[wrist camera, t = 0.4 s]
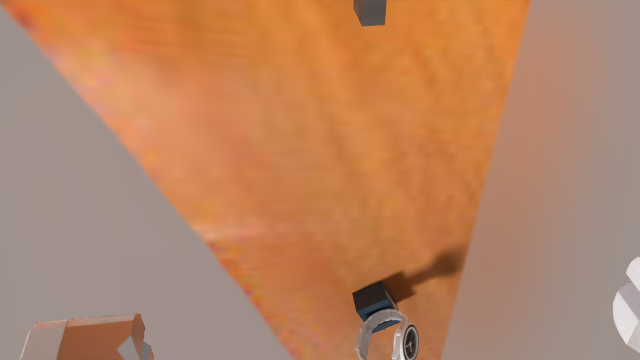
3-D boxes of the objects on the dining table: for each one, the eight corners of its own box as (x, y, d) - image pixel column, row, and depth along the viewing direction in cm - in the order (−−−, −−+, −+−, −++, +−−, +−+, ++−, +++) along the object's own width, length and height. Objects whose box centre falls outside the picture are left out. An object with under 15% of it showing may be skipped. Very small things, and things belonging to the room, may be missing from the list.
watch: (409, 298, 79) (432, 366, 71) (356, 320, 81) (372, 390, 72) (394, 274, 76) (417, 343, 67) (340, 298, 77) (355, 368, 69)
